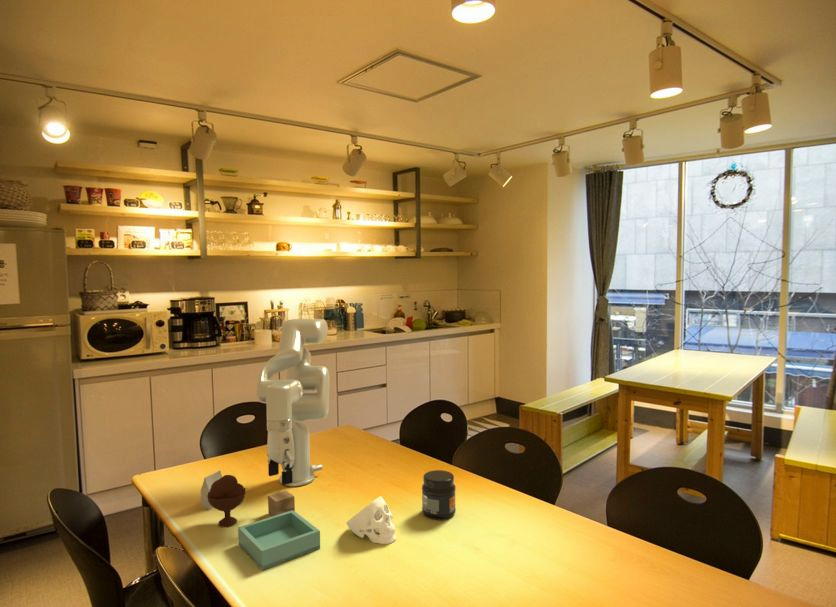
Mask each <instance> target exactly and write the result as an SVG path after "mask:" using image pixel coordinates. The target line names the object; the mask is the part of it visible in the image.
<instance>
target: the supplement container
mask: <svg viewBox="0 0 836 607" xmlns="http://www.w3.org/2000/svg"><path fill="white" fill-rule="evenodd" d="M422 477H423V480H422V481H423V483H422V484H421V490H422V491H421V494H422V495H421V501H422V502H421V503H422V504H421V506H422V507H421V511H422V513H423V515H424V516H425V517H427V519H431V520H437V521H440V520H442V521H443V520H448V519H450V518H452V517H453V516H455V514H456V512H457V511H456V509H457V508H456V489H457V488H456V487H457V486H456V484H455V483H454V482H455V476H454V474H453V473H452V472H451V471H447V470H441V469H440V470H439V469H438V470H437V469H436V470H435V469H433V470H430V471H427V472H425V473H424V474H423V475H422Z"/></svg>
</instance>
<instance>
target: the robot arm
mask: <svg viewBox="0 0 836 607" xmlns="http://www.w3.org/2000/svg"><path fill="white" fill-rule="evenodd" d="M280 330H281V331H280V332H281V334H280V339H279V343H278V344H279V345H278V350H277V353H276V354H275V355H274V356H272V357H271V358H269V360H267V362H266V363H265V364H264V365H263V366H262V368H261V369H260V371H259V376H258V378H257V384H256V388H255V389H256V391H255V393H256V398H257V400H258V401H259V402H260V403H262V404H266V431H267V443H266V444H267V446H266V452H267V454H266V455H267V457H268V458H267V463H268V472H267V473H268V474H267V475H268V476H269V477H274V476H277V475H279V473H280V465H281V469H282V471H281V475H280V476H279V478H278V483H279V484H281V485H282V486H286V487H302V486H305V485H308V484H311V483H312V482H313V481H314V480H315V472H317V471H323V465H322V464H318V465H317V464H316V463H315V464H311V460H310V459H311V453H310V452H311V450H310V449H311V445H310V430H309V428H308V426H307V425H306V422H304V421H320V420H324V419H326V418H327V417H328V414H329V411H330V410H329V408H330V390H331V388H330V387H331V386H330V384H331V380H330V379H331V377H330V371H329V369H328V367H326V366H324V365H311V363H312V362H311V360H312V354H311V352H310V351H309V349H308V348H307V347H306V346H305V345H306V344H307V345H310V344H311V345H313V344H322V343H323V342H324V341H325V340H326V339H327V337H328V334H329V333H328V332H329V326H328V322H327V321H326V320H325V318H324V319H323V318H294V319H292V318H291V319H287V320H285V321H284V322H282V324H281V329H280ZM283 371H286V375H285V376H286V377H285V379H272V378H273V377H274V376H275V375H278V373H281V372H283ZM305 392H306V393H305ZM309 392H310V393H309ZM311 392H312V393H311Z"/></svg>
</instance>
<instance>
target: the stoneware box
mask: <svg viewBox="0 0 836 607" xmlns="http://www.w3.org/2000/svg"><path fill="white" fill-rule="evenodd" d="M237 528H238V529H237V534H238V535H237V538H238V542H237V543H238V546H239V547H240V548H241V549H242V550H243V551H244V552H245V554H246V555H247V556H248V555H249V556H250V559H251V560H252V561H253V562H254V563H255V564H256V566H257V567H259V568H260V570H261V571H264V570H267V569H269V568H273V567H275V566H278V565H280V564H284V563H286V562H288V561H292V560H294V559H296V558H300V557H302V556H305V555H307V554H310V553H312V552H315V551H318V550H320V549H321V531H320V529H318V527H315V526H314V525H313V524H312V523H310V522H309V521H308V520H306V519H305V517H302V516H301V515H300V514H299V513H297V512H296V510H295V511H294V510H292V511H288V512H285V513H282V514H279V515H276V516H270V517H266V518H263V519H261V520H260V519H259V520H256V521H253V522H250V523H248V524H247V523H246V524H244V525H241V526H238V527H237ZM249 556H248V557H249Z"/></svg>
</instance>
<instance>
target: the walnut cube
mask: <svg viewBox="0 0 836 607" xmlns="http://www.w3.org/2000/svg"><path fill="white" fill-rule="evenodd" d="M295 502H296V501H295V495H294V494H292V493H290V492H289V491H288V490H287V489H285V490H281V491H279V492H275V493H272V494H268V495H267V503H268V504H267V505H268V508H267V510H268V512H267V513H268V515H269V514H270V515H269V516H270V517H272V516H276V515H279V514H282V513H285V512H288V511H292V510H294V511H295V512H296V510H295V507H296V506H295V504H296V503H295Z"/></svg>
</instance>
